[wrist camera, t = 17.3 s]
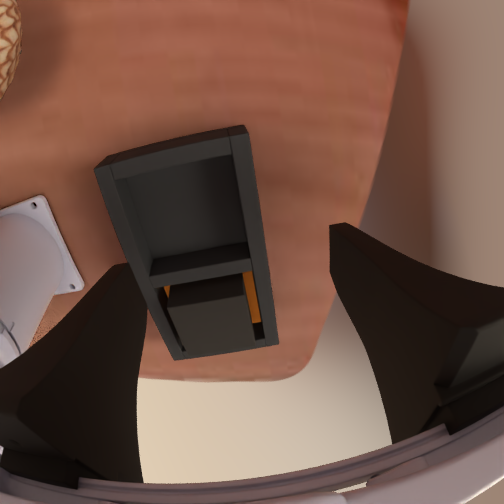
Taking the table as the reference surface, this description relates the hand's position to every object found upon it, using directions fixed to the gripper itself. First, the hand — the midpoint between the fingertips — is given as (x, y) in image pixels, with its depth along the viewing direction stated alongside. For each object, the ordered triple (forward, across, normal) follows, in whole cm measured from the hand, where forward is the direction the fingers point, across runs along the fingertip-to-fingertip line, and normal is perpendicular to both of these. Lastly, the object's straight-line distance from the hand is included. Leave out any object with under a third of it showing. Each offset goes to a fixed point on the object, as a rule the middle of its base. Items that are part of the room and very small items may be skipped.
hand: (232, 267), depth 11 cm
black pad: (+9, +2, +9) cm, 13 cm away
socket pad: (+9, +2, +5) cm, 11 cm away
